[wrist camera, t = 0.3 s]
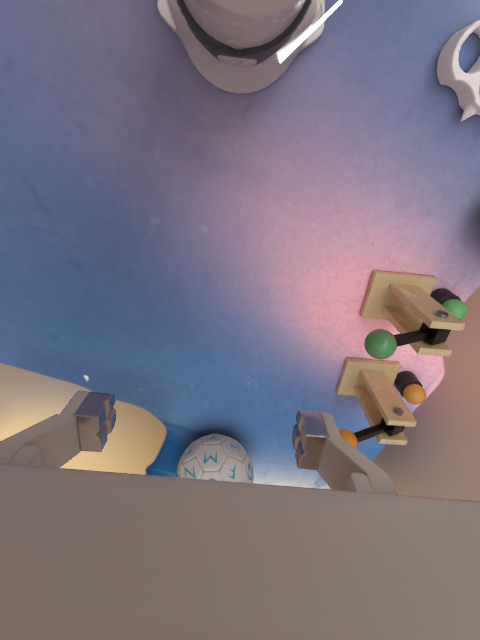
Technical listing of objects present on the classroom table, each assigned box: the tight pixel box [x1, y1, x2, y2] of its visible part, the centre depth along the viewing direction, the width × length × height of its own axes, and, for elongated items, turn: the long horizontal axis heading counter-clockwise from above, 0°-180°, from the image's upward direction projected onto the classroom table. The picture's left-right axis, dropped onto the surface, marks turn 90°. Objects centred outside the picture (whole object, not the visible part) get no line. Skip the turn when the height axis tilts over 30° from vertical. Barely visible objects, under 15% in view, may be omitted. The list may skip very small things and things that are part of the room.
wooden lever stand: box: [360, 270, 465, 356], centre depth 48 cm, size 10×8×14 cm
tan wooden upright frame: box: [336, 358, 417, 445], centre depth 56 cm, size 10×8×14 cm
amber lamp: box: [394, 371, 426, 404], centre depth 60 cm, size 4×4×6 cm
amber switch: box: [339, 417, 405, 449], centre depth 50 cm, size 13×4×4 cm, turn 85°
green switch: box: [364, 322, 451, 359], centre depth 41 cm, size 13×4×4 cm, turn 85°
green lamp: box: [430, 289, 467, 320], centre depth 52 cm, size 4×4×6 cm
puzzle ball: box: [176, 434, 254, 484], centre depth 64 cm, size 15×15×15 cm
